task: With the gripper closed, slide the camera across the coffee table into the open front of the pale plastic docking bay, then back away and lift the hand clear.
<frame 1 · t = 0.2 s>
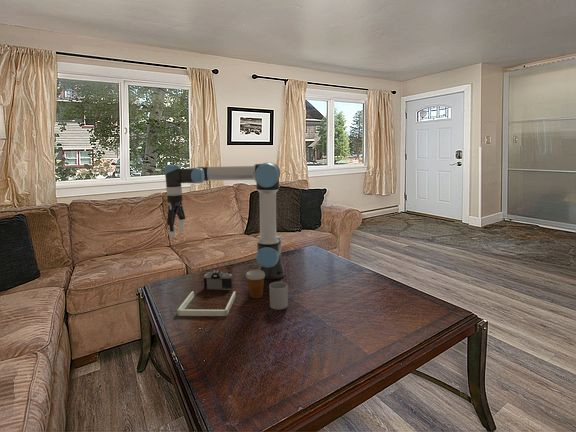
hand: (177, 234, 187), 28 cm above the table, tool pointing down, fingers open, 13 cm apart
disposable coffee cup: (256, 295, 174), on the table
docking bay: (208, 304, 164), on the table
camera: (219, 287, 186), on the table
cup: (278, 305, 163), on the table
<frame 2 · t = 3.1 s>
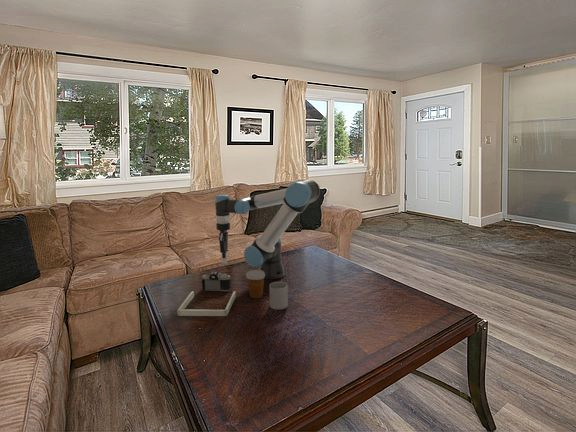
hand: (224, 262, 199), 8 cm above the table, tool pointing down, fingers closed
camera: (217, 288, 184), on the table
everything else where it was.
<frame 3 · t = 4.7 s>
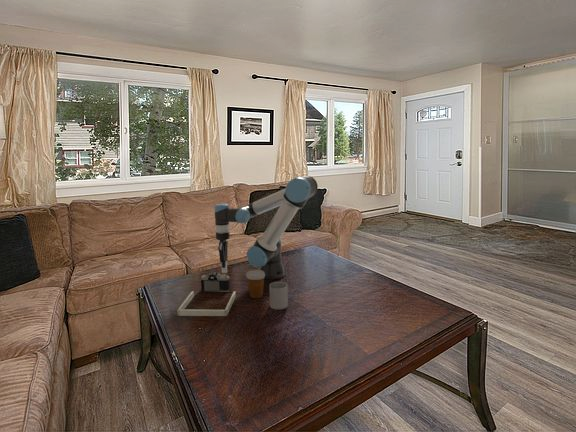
hand: (224, 272, 198), 3 cm above the table, tool pointing down, fingers closed
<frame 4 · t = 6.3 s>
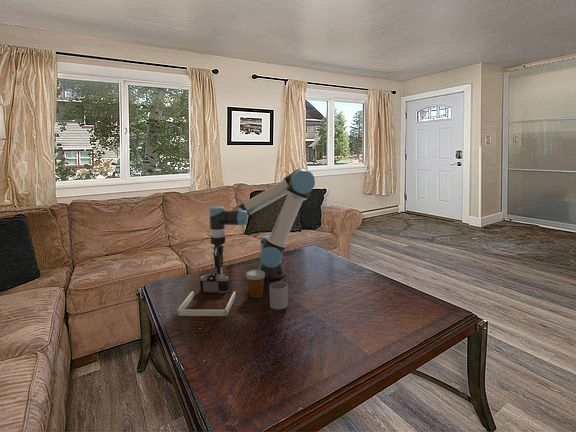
hand: (219, 278, 187), 4 cm above the table, tool pointing down, fingers closed
camera: (216, 290, 182), on the table, touching gripper
everything else where it was.
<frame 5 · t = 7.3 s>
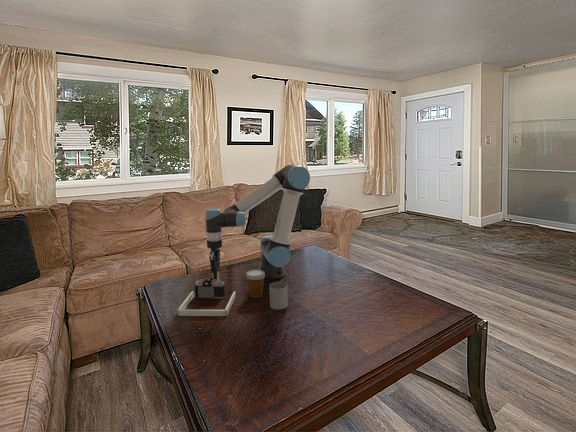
hand: (216, 283, 180), 4 cm above the table, tool pointing down, fingers closed
camera: (211, 295, 175), on the table, touching gripper
everything else where it was.
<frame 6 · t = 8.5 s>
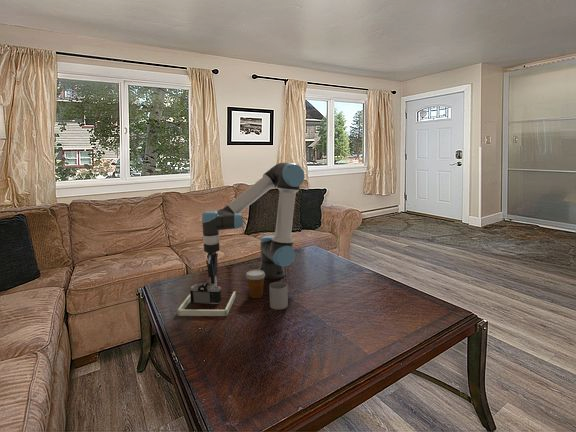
hand: (213, 288, 174), 4 cm above the table, tool pointing down, fingers closed
camera: (207, 301, 169), on the table, touching gripper
everything else where it was.
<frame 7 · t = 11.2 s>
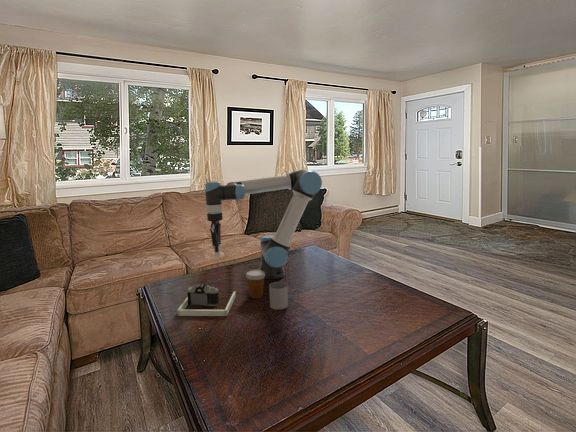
hand: (217, 257, 180), 17 cm above the table, tool pointing down, fingers closed
camera: (205, 302, 167), on the table
everything else where it was.
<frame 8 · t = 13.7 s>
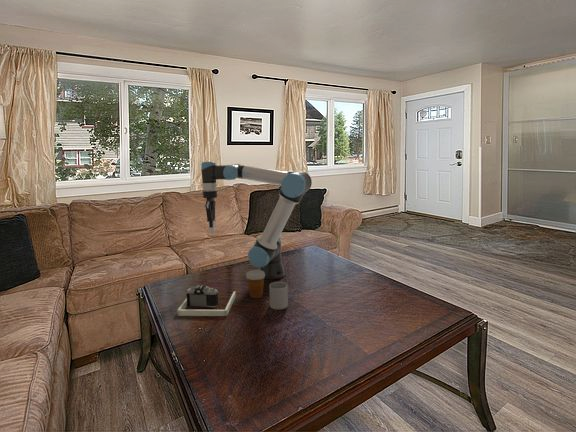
hand: (212, 232, 194), 26 cm above the table, tool pointing down, fingers closed
camera: (204, 304, 166), on the table
everything else where it was.
at the end: camera inside the target area on the docking bay (2.6 cm from its centre), point 0.0 cm above the docking bay's base; camera tilted 0°; camera moved 20.6 cm from its start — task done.
